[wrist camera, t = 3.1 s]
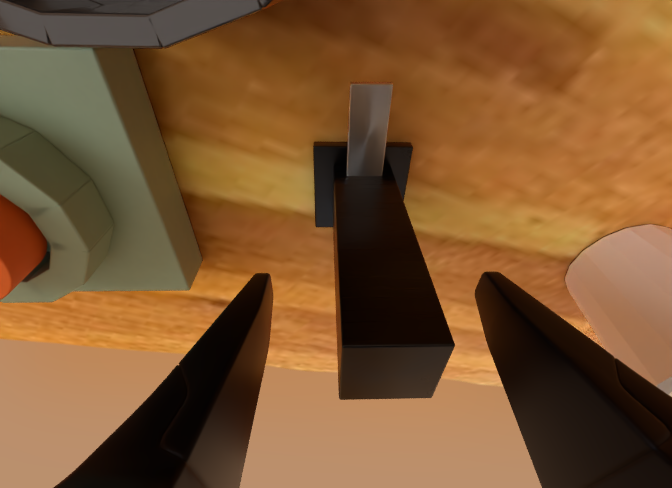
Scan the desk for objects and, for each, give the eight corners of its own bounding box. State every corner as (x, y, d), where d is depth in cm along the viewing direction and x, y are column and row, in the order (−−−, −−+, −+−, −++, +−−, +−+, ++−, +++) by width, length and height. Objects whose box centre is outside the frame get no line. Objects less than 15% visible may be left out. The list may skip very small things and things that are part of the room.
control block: (130, 37, 11) (50, 60, 8) (203, 260, 17) (176, 322, 14) (-220, 31, 10) (-455, 52, 7) (-11, 261, 17) (-88, 325, 14)
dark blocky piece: (311, 73, 11) (291, 214, 4) (422, 74, 12) (569, 214, 5) (316, 259, 17) (311, 448, 10) (390, 259, 17) (435, 445, 10)
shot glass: (701, 263, 18) (861, 383, 13) (576, 318, 21) (663, 434, 16) (677, 188, 15) (878, 306, 10) (534, 265, 18) (625, 388, 12)
